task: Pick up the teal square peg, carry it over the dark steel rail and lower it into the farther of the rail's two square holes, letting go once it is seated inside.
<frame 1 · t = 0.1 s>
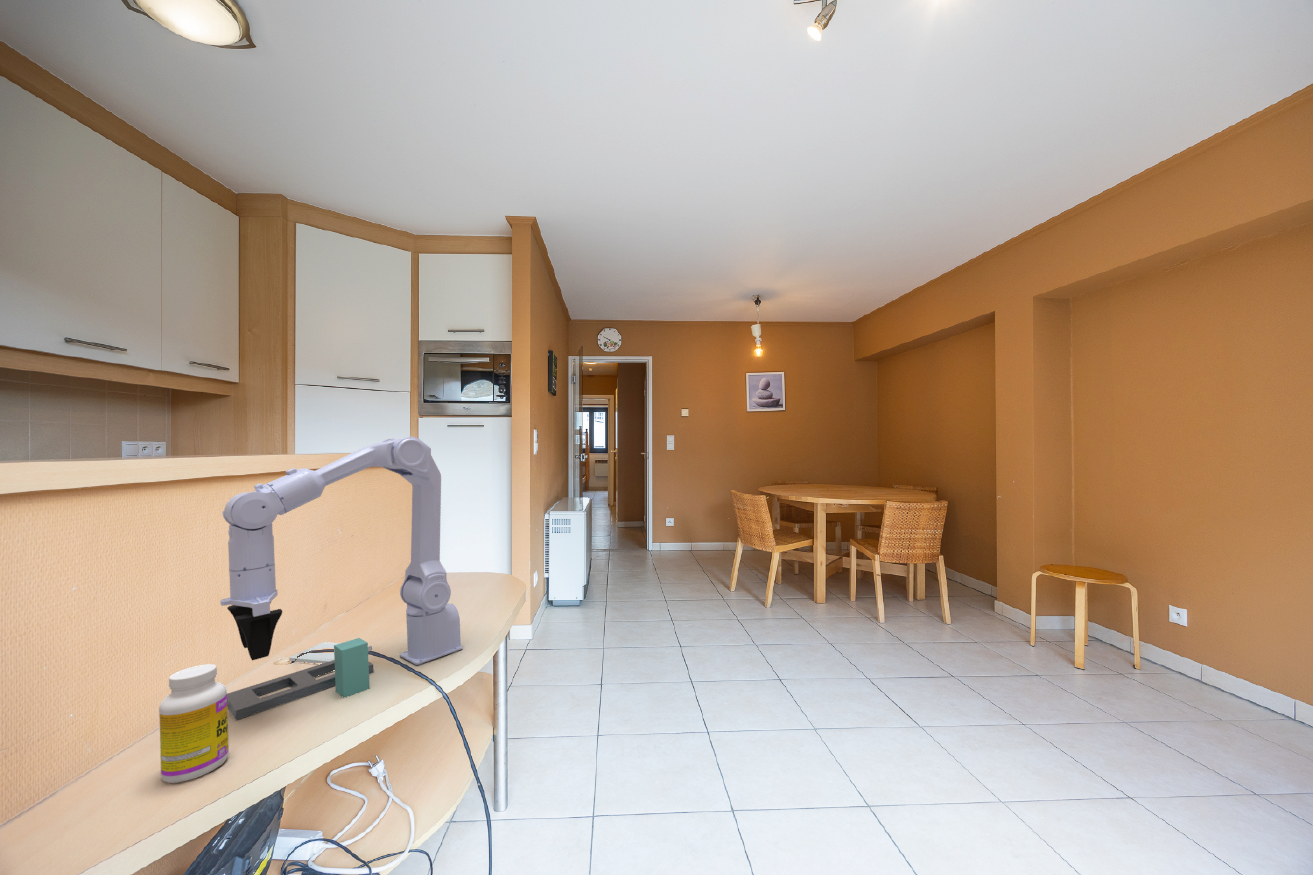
hand: (255, 651, 80), 10 cm above the counter, tool pointing down, fingers open, 7 cm apart
hard drive: (331, 659, 103), on the counter
supplement bottle: (196, 769, 66), on the counter
steel rail: (303, 686, 89), on the counter
teal peg: (352, 690, 87), on the counter
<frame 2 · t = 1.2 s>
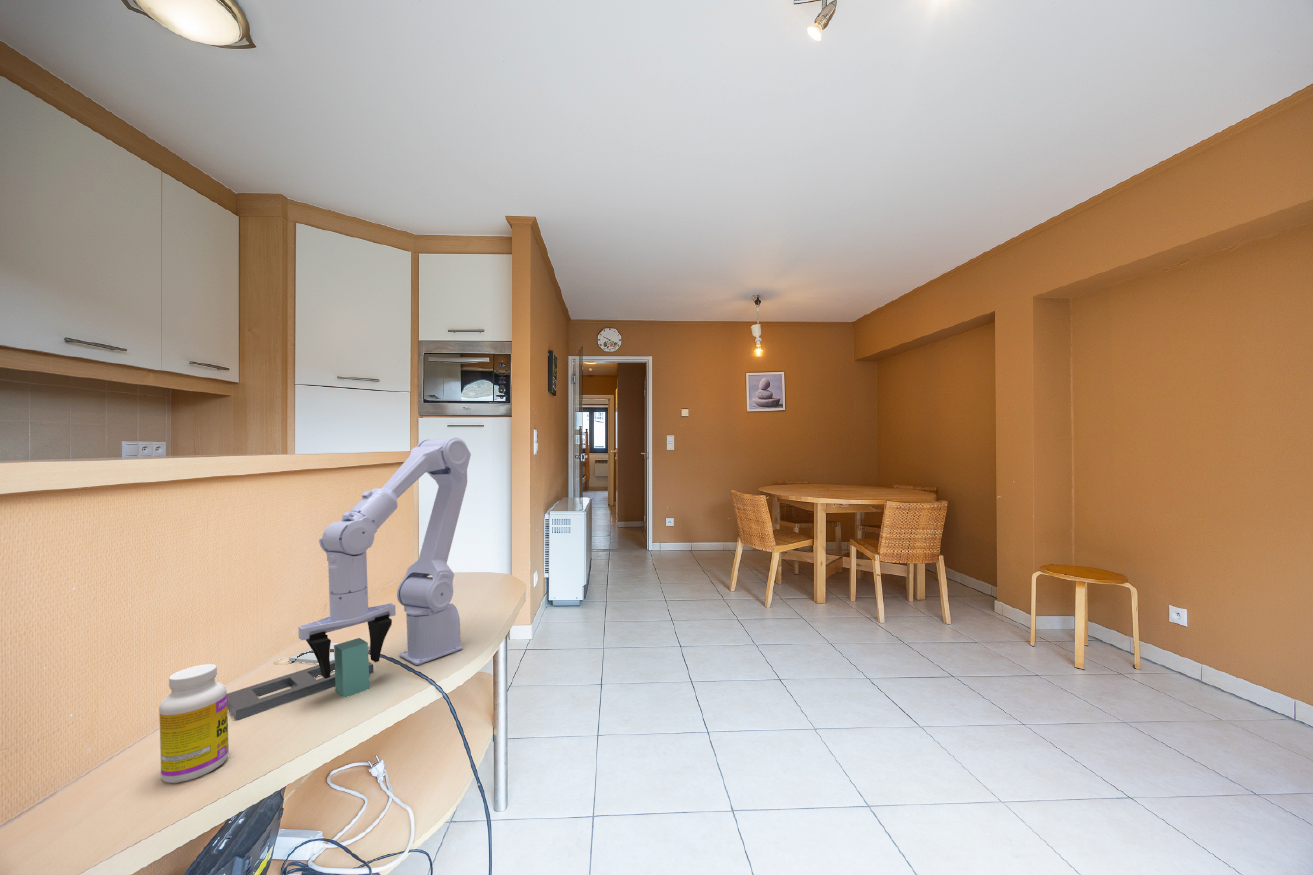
hand: (351, 668, 87), 4 cm above the counter, tool pointing down, fingers open, 7 cm apart
nothing on the counter moved.
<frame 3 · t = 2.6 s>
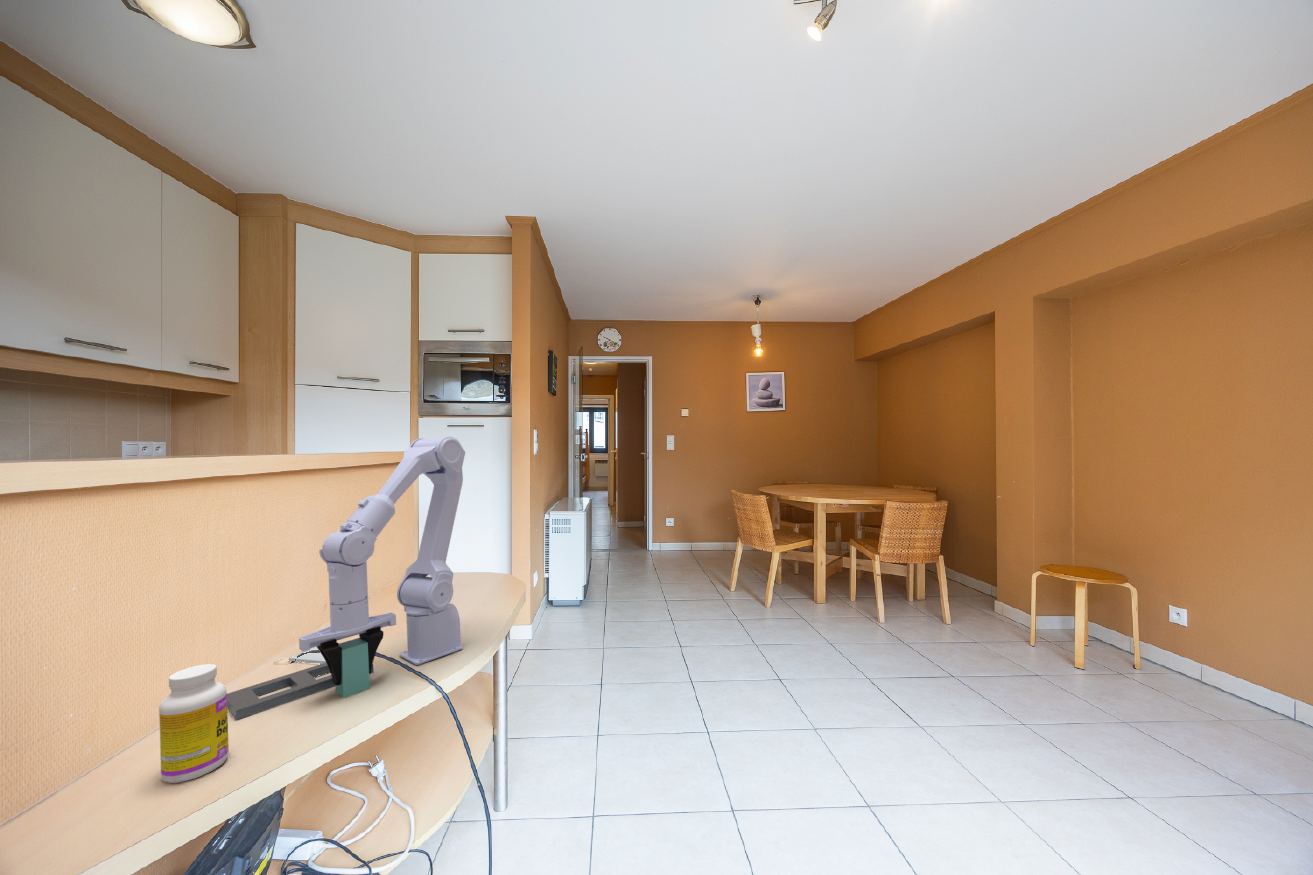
hand: (352, 678, 87), 2 cm above the counter, tool pointing down, fingers closed on teal peg, 4 cm apart
teal peg: (352, 689, 87), on the counter, touching gripper
everything else where it was.
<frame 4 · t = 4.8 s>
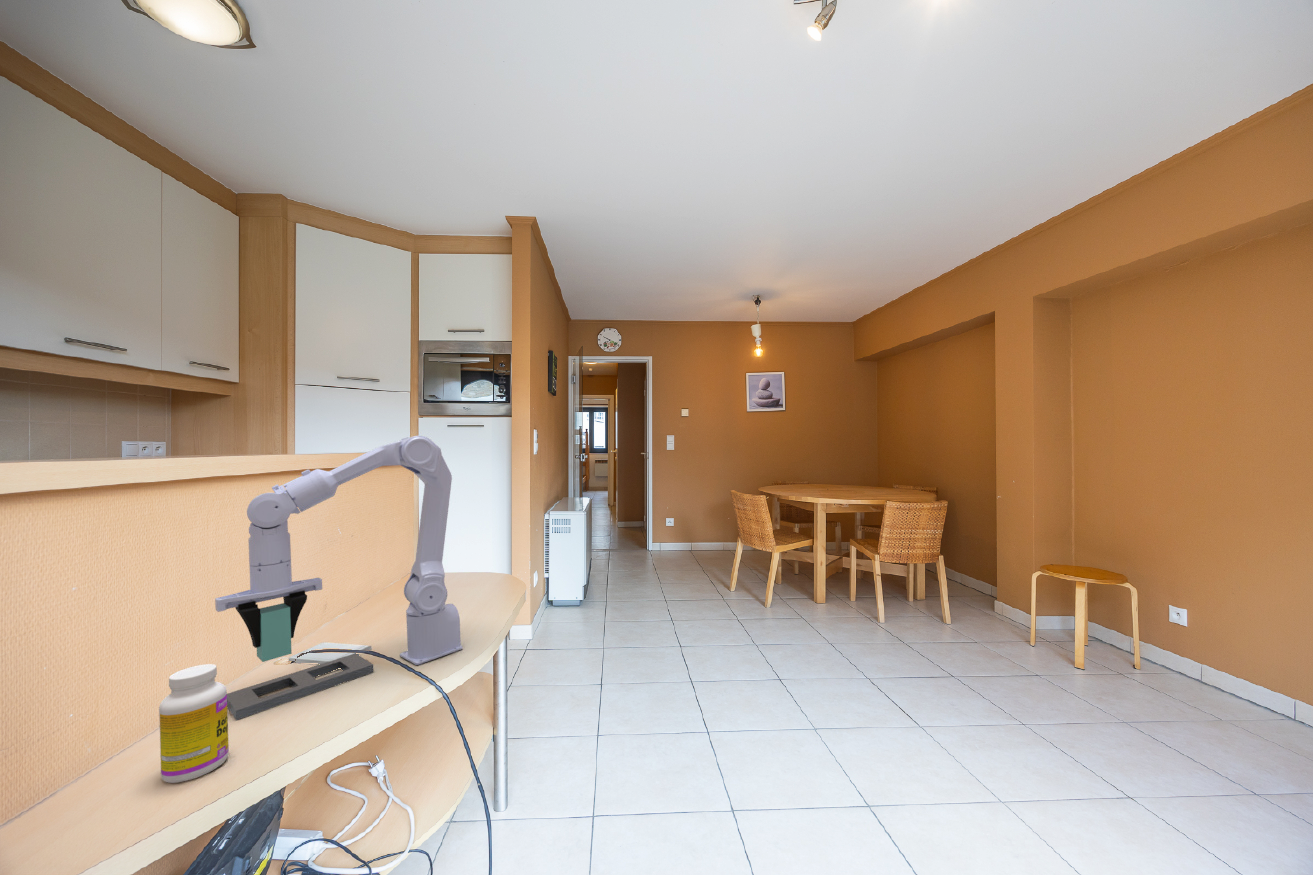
hand: (273, 641, 86), 9 cm above the counter, tool pointing down, fingers closed on teal peg, 4 cm apart
teal peg: (274, 654, 86), point 7 cm above the counter, touching gripper
everything else where it was.
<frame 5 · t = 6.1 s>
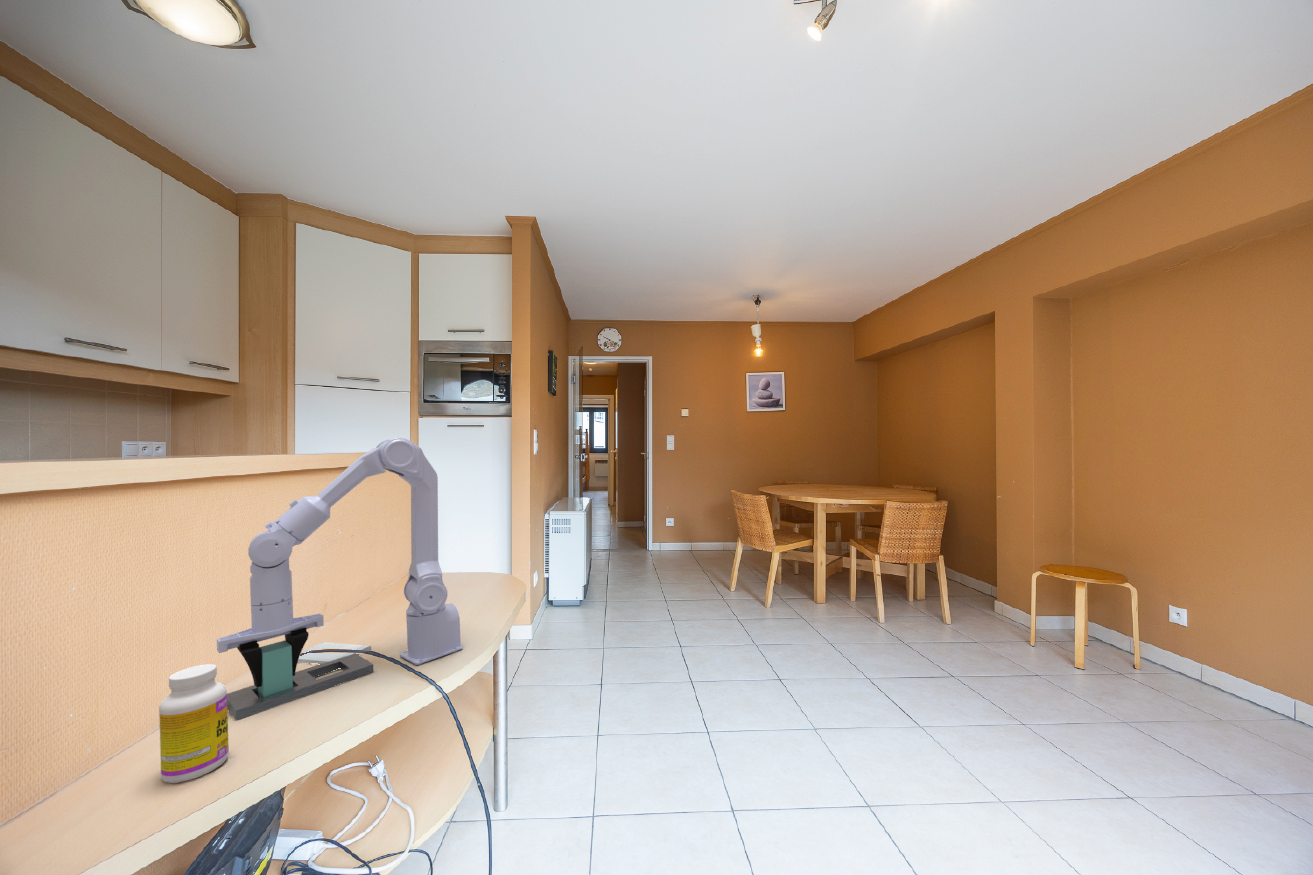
hand: (274, 679, 86), 3 cm above the counter, tool pointing down, fingers closed on teal peg, 4 cm apart
teal peg: (275, 693, 86), point 1 cm above the counter, touching gripper
everything else where it was.
when the fingers open (3 cm above the counter, at t = 7.0 s): teal peg stays where it is, resting in steel rail.
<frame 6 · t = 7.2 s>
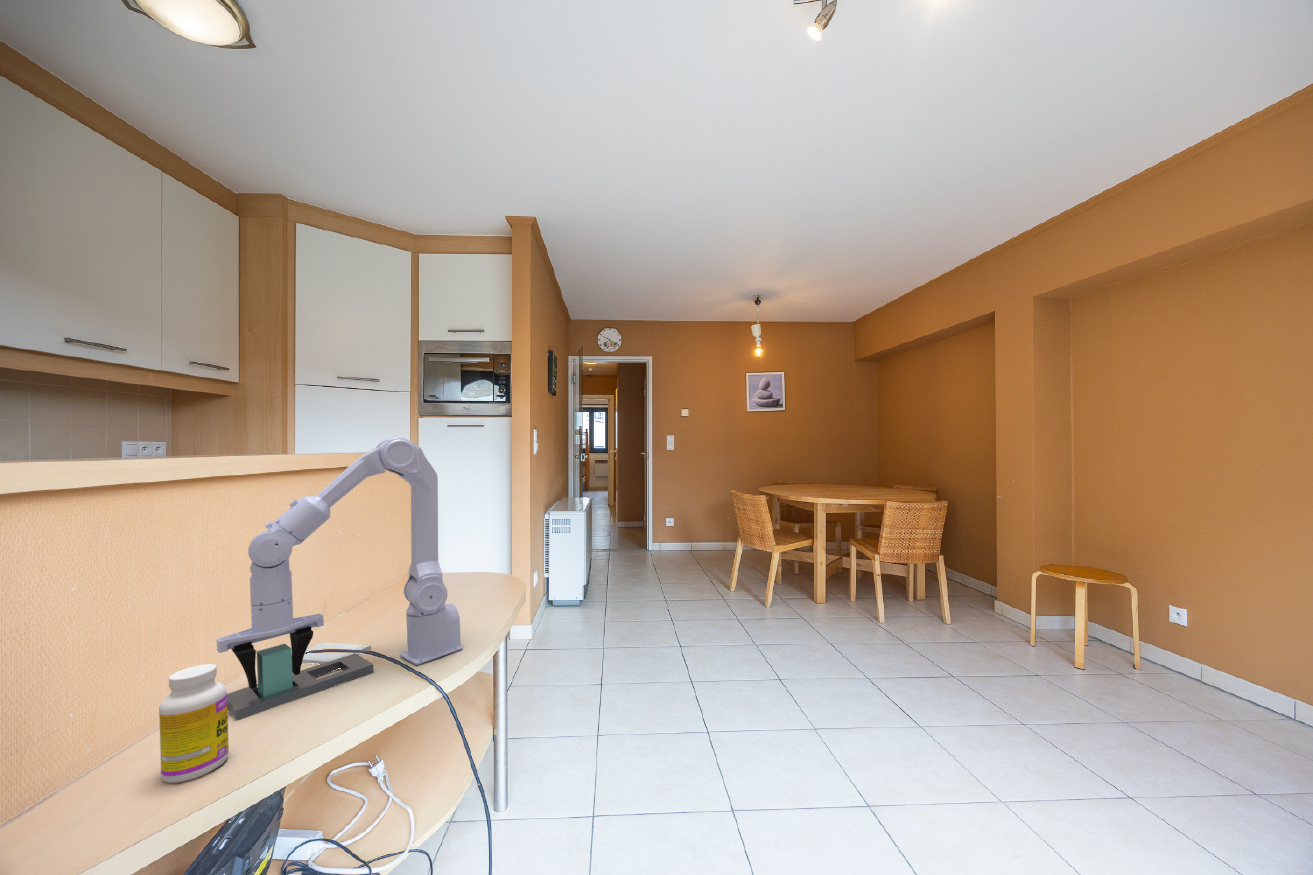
hand: (274, 679, 86), 3 cm above the counter, tool pointing down, fingers open, 5 cm apart
teal peg: (275, 696, 86), resting in steel rail
everything else where it was.
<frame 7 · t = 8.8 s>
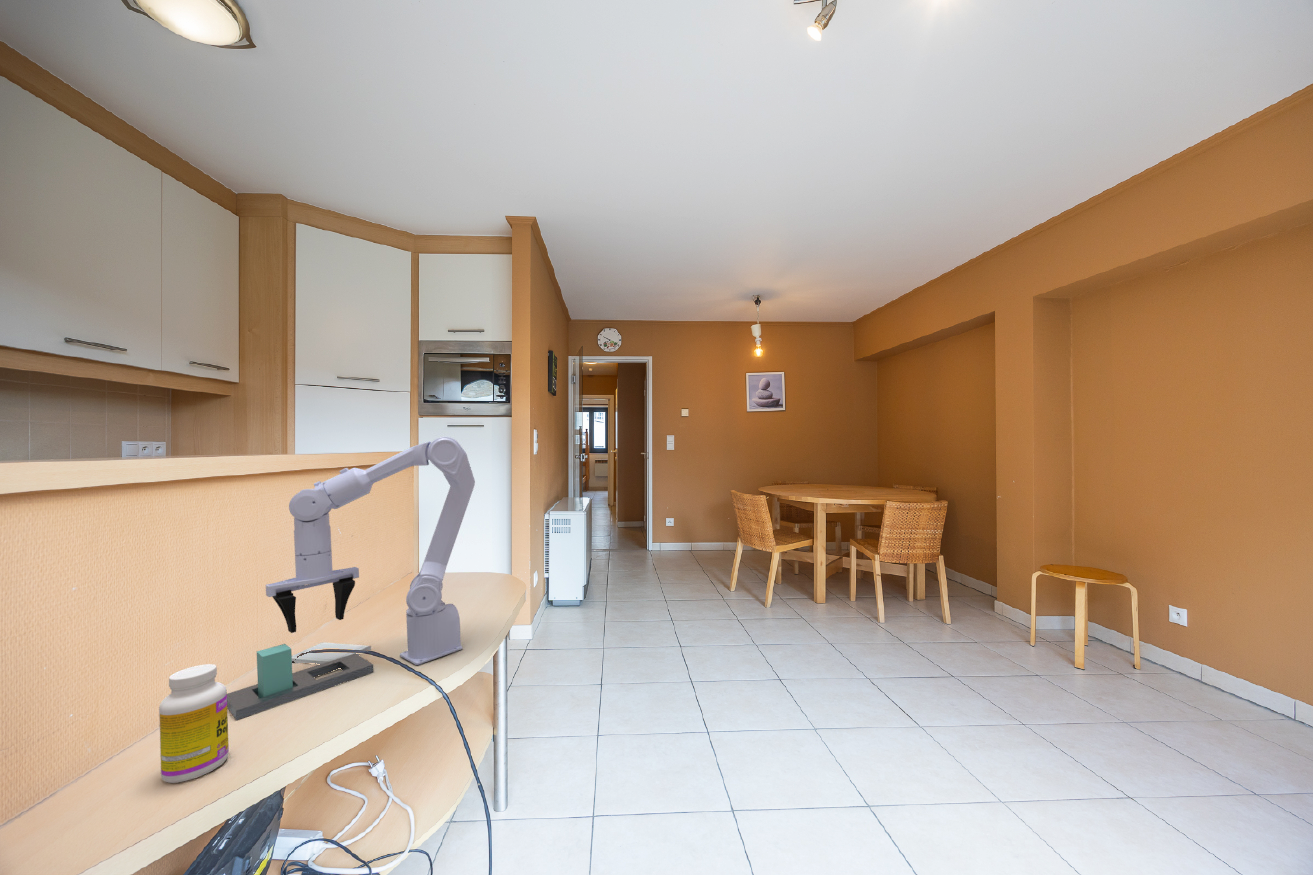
hand: (316, 624, 94), 9 cm above the counter, tool pointing down, fingers open, 7 cm apart
nothing on the counter moved.
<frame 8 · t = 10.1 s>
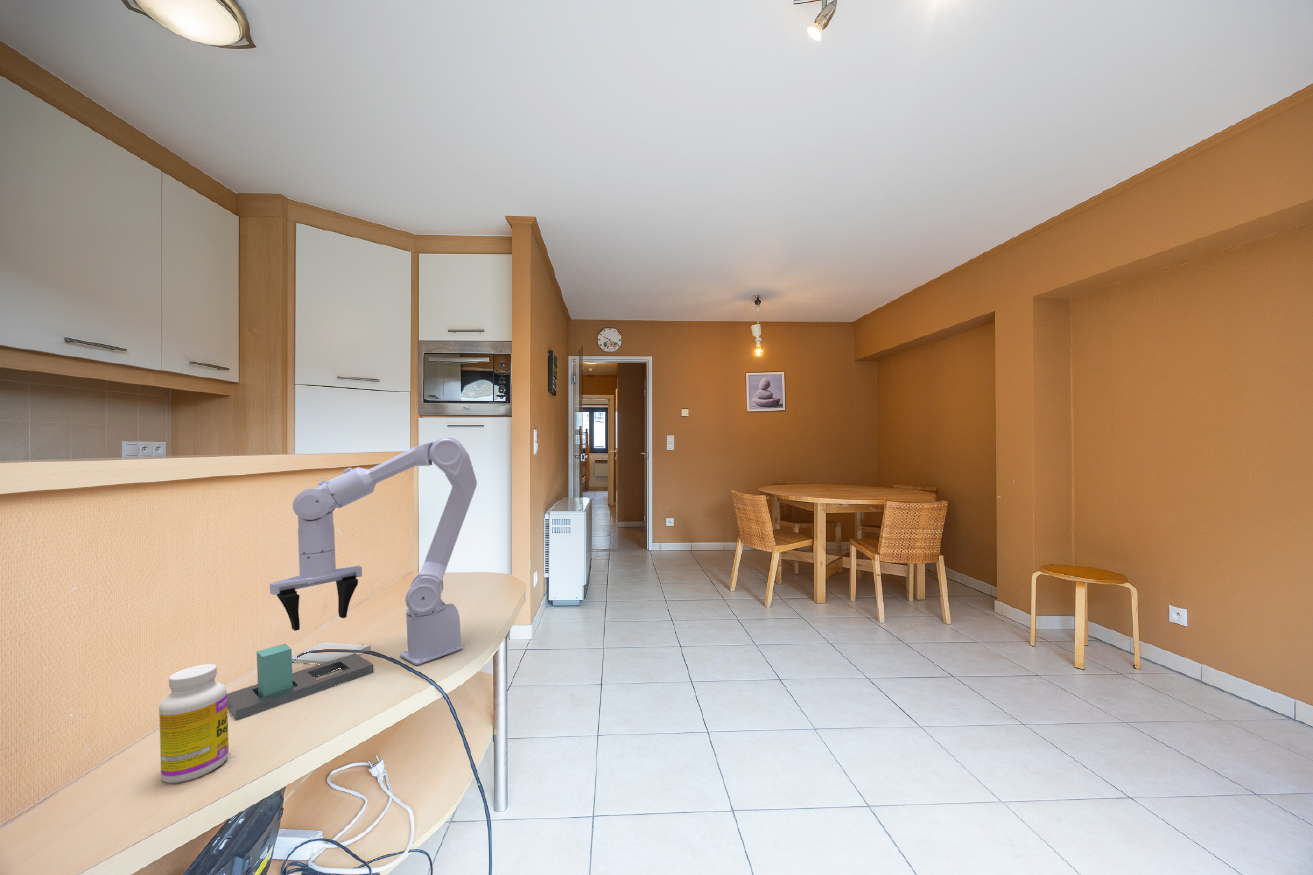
hand: (319, 622, 95), 9 cm above the counter, tool pointing down, fingers open, 7 cm apart
nothing on the counter moved.
at the end: teal peg 0.2 cm from the target spot on the steel rail, point 0.0 cm above the steel rail's base; teal peg tilted 0°; the gripper is holding nothing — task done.
